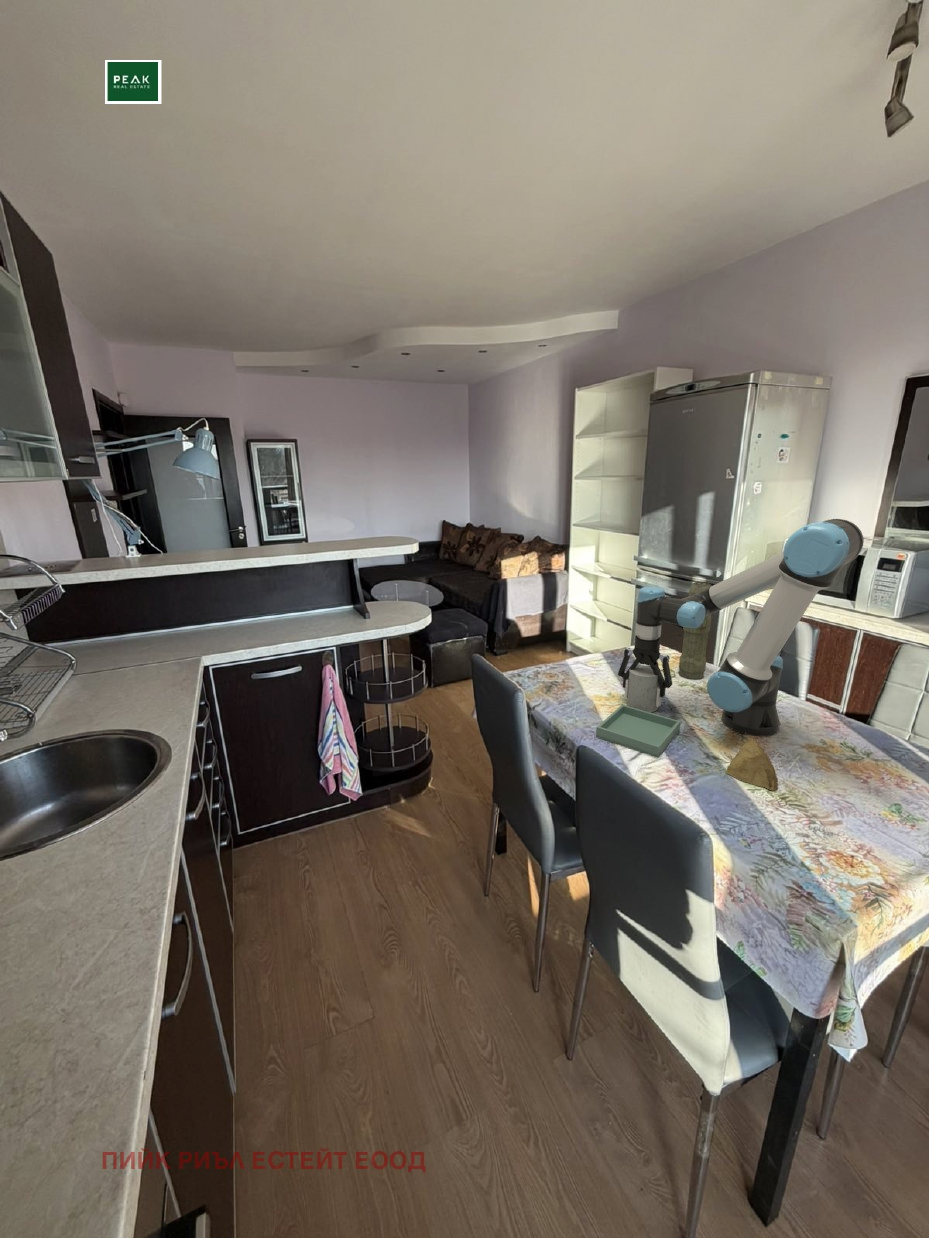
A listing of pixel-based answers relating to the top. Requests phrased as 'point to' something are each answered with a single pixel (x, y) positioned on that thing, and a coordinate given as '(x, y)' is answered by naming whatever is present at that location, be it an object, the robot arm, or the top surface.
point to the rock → (753, 766)
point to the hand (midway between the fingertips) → (642, 701)
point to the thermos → (695, 643)
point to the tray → (638, 730)
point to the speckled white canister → (642, 689)
